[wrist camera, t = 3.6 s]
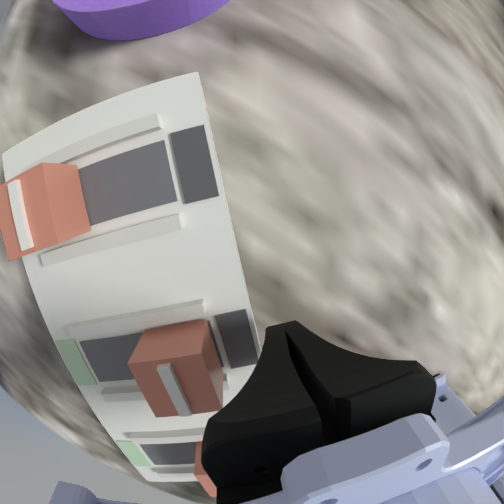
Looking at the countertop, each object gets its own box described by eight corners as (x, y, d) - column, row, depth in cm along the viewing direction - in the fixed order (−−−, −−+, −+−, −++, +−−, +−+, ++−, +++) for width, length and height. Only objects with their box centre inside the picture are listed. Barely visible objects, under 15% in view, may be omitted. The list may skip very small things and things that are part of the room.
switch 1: (77, 164, 10) (37, 162, 7) (91, 230, 11) (54, 245, 8) (30, 186, 10) (-12, 190, 7) (43, 246, 11) (4, 263, 8)
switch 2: (245, 433, 14) (249, 473, 11) (255, 458, 15) (260, 495, 12) (196, 439, 14) (193, 479, 11) (211, 464, 15) (210, 501, 12)
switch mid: (206, 318, 12) (200, 357, 9) (223, 371, 13) (222, 415, 10) (144, 330, 12) (125, 368, 9) (165, 380, 13) (154, 422, 10)
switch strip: (202, 89, 13) (196, 66, 10) (284, 444, 18) (291, 474, 15) (27, 155, 12) (-5, 153, 9) (152, 459, 18) (146, 486, 15)
